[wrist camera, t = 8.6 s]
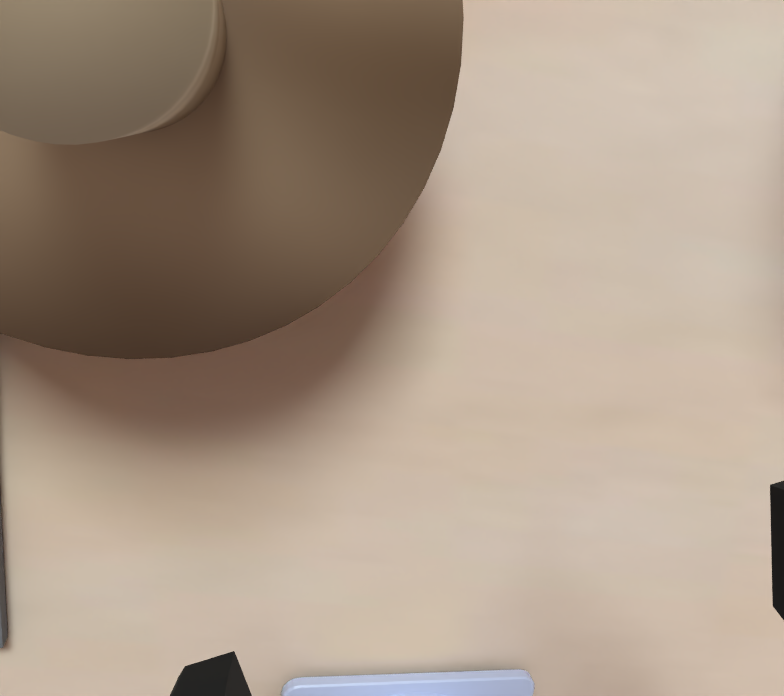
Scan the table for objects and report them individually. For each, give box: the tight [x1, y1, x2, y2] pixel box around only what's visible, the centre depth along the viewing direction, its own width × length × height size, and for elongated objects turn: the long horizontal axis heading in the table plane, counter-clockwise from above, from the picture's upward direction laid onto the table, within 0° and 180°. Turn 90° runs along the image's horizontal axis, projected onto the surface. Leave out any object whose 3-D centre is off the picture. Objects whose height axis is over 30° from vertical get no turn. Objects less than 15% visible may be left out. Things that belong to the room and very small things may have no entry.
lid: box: [0, 0, 463, 359], centre depth 9 cm, size 11×11×5 cm
